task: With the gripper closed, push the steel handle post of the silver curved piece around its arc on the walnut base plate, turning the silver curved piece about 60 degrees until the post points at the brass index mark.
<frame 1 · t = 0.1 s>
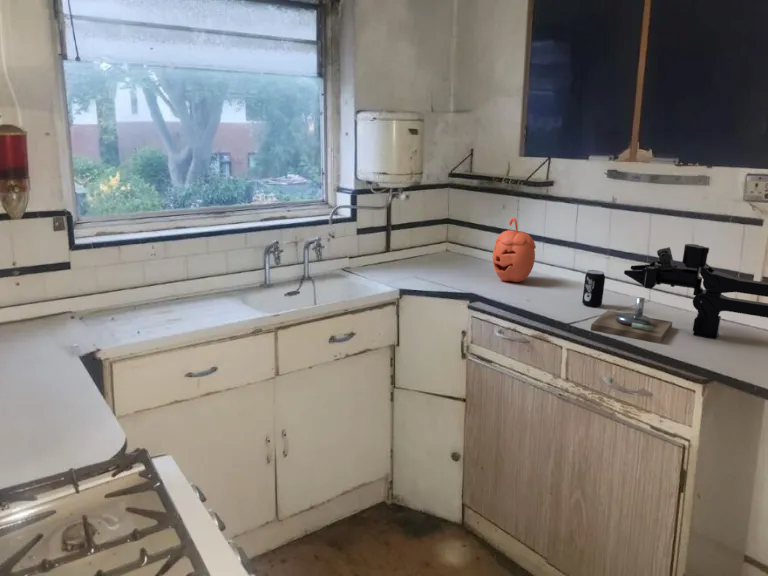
hand: (627, 269, 216), 17 cm above the worktop, tool horizontal, fingers open, 9 cm apart
jack-o'-lantern: (511, 281, 269), on the worktop
base plate: (631, 328, 210), on the worktop
silver curved piece: (635, 311, 211), point 5 cm above the worktop, hinge at 0.0°
beverage can: (591, 305, 237), on the worktop
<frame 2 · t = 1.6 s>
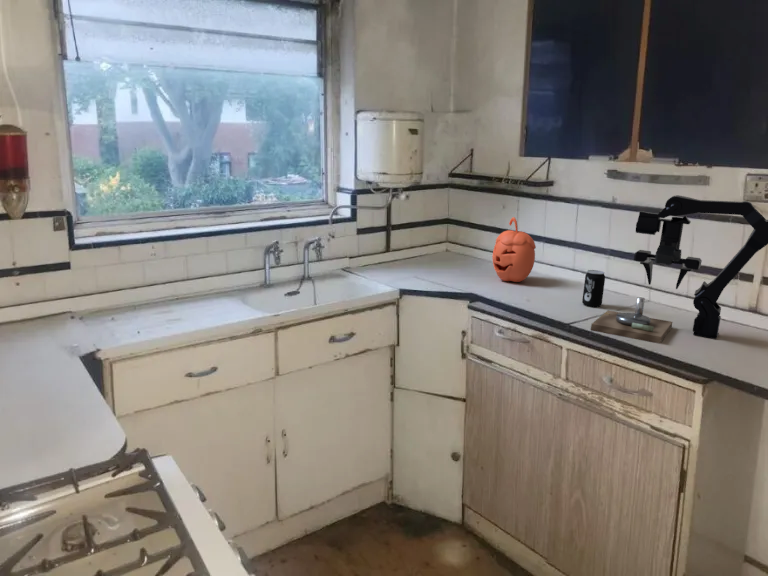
hand: (663, 286, 211), 13 cm above the worktop, tool pointing down, fingers open, 8 cm apart
nothing on the worktop moved.
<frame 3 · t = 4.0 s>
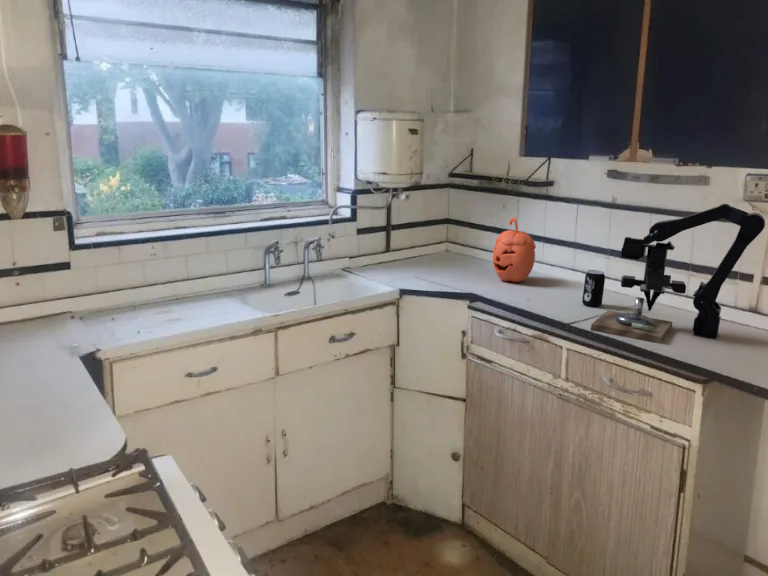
hand: (649, 310, 214), 5 cm above the worktop, tool pointing down, fingers closed
silver curved piece: (635, 311, 211), point 5 cm above the worktop, hinge at 1.9°, touching gripper
everything else where it was.
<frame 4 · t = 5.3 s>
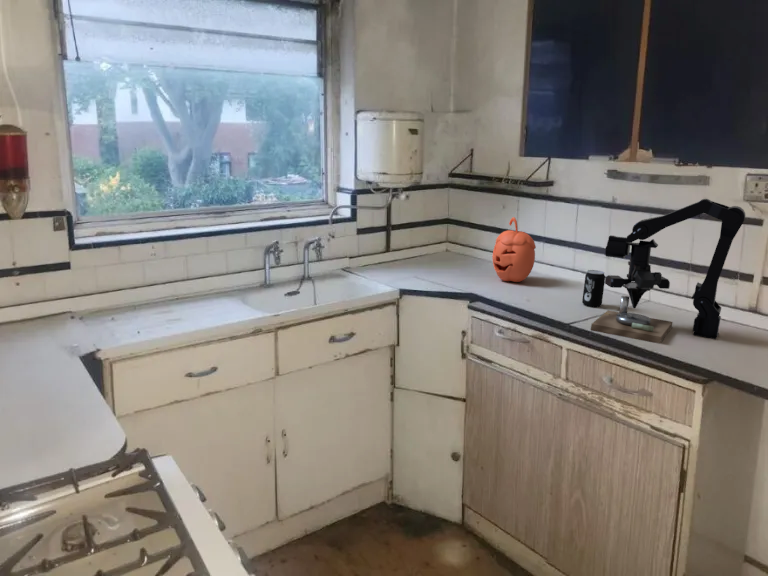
hand: (634, 308, 217), 5 cm above the worktop, tool pointing down, fingers closed
silver curved piece: (631, 310, 211), point 5 cm above the worktop, hinge at 33.9°, touching gripper
everything else where it was.
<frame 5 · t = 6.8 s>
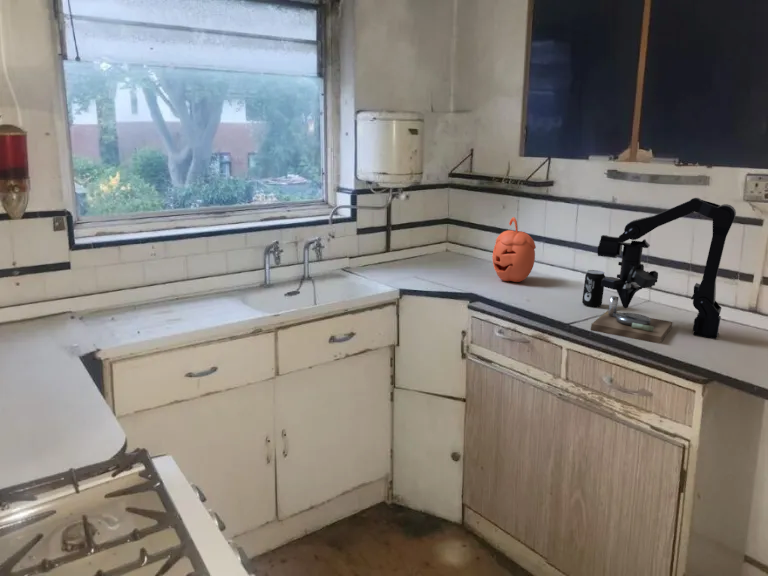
hand: (625, 307, 218), 4 cm above the worktop, tool pointing down, fingers closed
silver curved piece: (628, 310, 210), point 5 cm above the worktop, hinge at 63.3°
everything else where it was.
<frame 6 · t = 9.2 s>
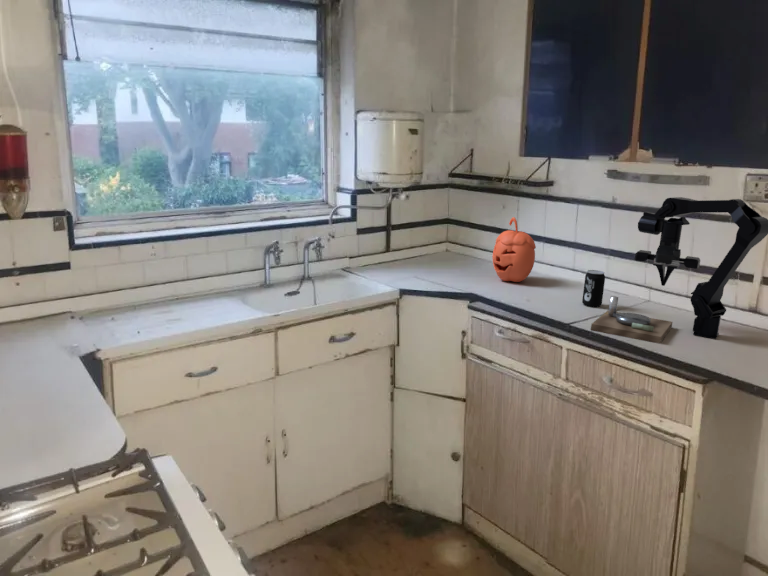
hand: (663, 285, 217), 12 cm above the worktop, tool pointing down, fingers closed
nothing on the worktop moved.
at the end: silver curved piece at +63° (first picture: +0°); beverage can moved 0.2 cm from its start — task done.
